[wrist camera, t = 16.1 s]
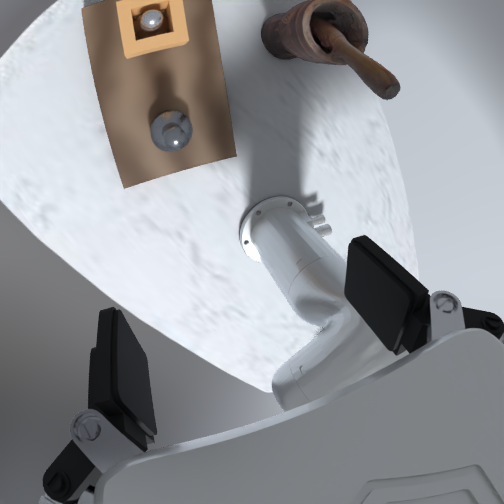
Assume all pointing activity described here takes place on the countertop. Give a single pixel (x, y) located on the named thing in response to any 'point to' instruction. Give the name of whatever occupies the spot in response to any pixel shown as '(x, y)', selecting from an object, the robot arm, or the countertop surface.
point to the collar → (138, 3)
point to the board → (159, 93)
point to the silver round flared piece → (150, 24)
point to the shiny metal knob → (171, 130)
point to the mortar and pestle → (328, 40)
